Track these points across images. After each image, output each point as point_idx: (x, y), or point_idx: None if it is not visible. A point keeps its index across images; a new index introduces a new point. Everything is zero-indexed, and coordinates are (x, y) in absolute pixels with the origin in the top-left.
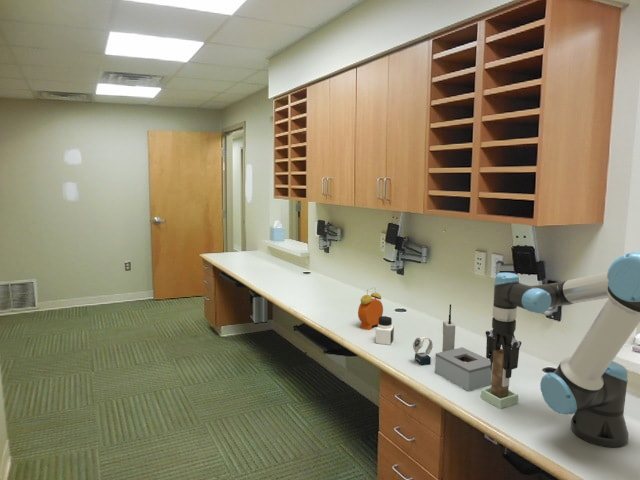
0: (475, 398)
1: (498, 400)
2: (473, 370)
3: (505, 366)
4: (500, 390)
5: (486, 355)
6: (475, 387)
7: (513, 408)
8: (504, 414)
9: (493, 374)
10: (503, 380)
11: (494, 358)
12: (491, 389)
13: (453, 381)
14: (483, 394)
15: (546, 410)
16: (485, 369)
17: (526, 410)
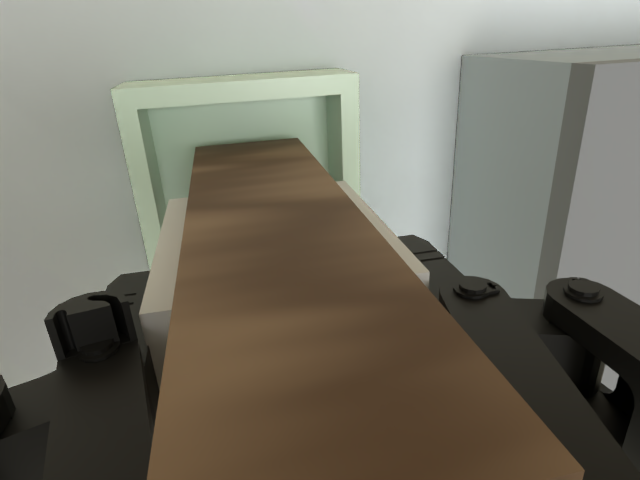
0: (350, 19)
1: (138, 86)
2: (574, 132)
3: (125, 354)
4: (192, 168)
5: (623, 301)
6: (463, 137)
7: (100, 190)
8: (22, 41)
9: (321, 196)
10: (169, 226)
11: (409, 323)
12: (300, 147)
13: (621, 46)
14: (320, 73)
15: (9, 379)
16: (530, 286)
17: (43, 258)
